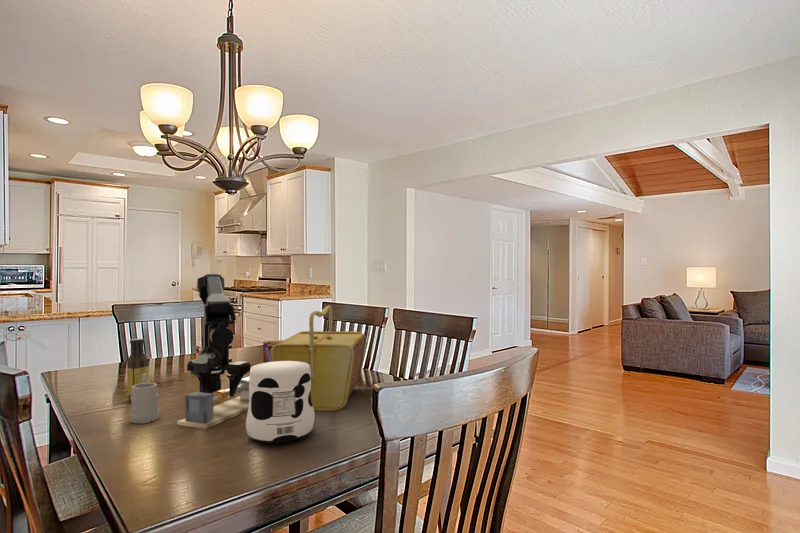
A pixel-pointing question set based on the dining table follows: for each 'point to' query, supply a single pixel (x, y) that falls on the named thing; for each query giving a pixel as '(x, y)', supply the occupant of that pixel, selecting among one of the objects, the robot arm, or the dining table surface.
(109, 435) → the dining table surface
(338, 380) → the picnic basket
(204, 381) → the robot arm
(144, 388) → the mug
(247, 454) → the dining table surface
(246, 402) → the board
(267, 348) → the candy box
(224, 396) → the tube
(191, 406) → the socket
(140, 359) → the sauce bottle
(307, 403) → the milk container
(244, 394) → the sleeve
